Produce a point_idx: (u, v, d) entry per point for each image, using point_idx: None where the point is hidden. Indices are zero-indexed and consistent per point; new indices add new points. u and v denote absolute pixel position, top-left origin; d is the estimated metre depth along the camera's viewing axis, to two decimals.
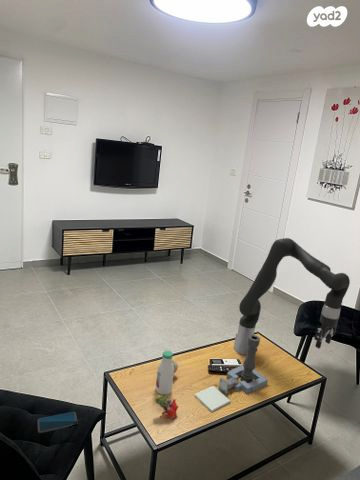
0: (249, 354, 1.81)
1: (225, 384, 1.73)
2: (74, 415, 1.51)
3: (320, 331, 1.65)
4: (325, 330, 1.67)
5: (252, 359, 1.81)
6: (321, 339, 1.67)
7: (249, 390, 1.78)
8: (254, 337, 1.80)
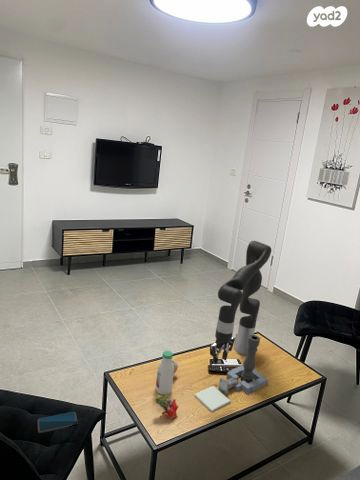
0: (249, 354, 1.81)
1: (225, 384, 1.73)
2: (74, 415, 1.51)
3: (212, 348, 1.60)
4: (219, 346, 1.62)
5: (252, 359, 1.81)
6: (216, 355, 1.63)
7: (249, 390, 1.78)
8: (254, 337, 1.80)
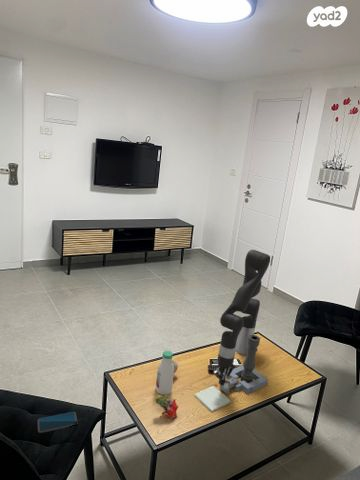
0: (249, 354, 1.81)
1: (226, 383, 1.74)
2: (74, 415, 1.51)
3: (215, 374, 1.68)
4: (221, 371, 1.69)
5: (252, 359, 1.81)
6: (222, 378, 1.71)
7: (249, 390, 1.78)
8: (254, 337, 1.80)
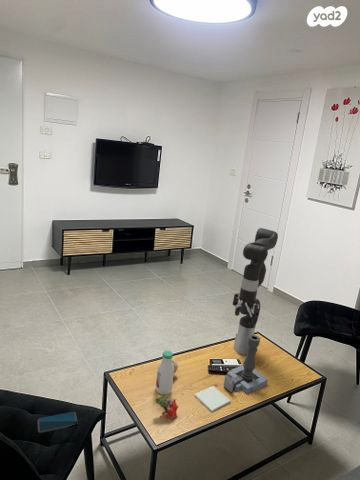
0: (249, 354, 1.81)
1: (230, 382, 1.76)
2: (74, 415, 1.51)
3: None
4: (240, 298, 1.69)
5: (252, 359, 1.81)
6: (236, 305, 1.71)
7: (249, 390, 1.78)
8: (254, 337, 1.80)
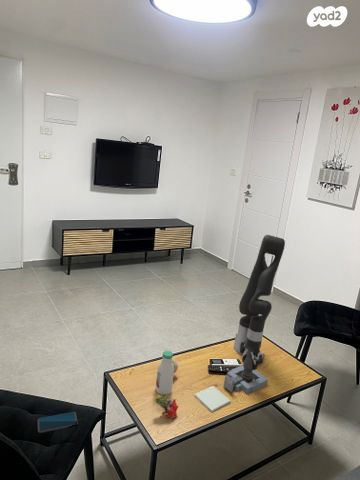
0: (249, 354, 1.81)
1: (230, 382, 1.76)
2: (74, 415, 1.51)
3: None
4: (246, 347, 1.83)
5: (252, 359, 1.81)
6: (243, 353, 1.85)
7: (249, 390, 1.78)
8: None
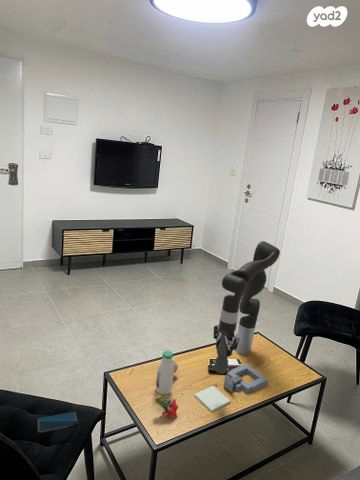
0: (223, 339, 1.61)
1: (230, 382, 1.76)
2: (74, 415, 1.51)
3: None
4: (219, 331, 1.63)
5: (226, 344, 1.61)
6: (216, 338, 1.65)
7: (249, 390, 1.78)
8: None
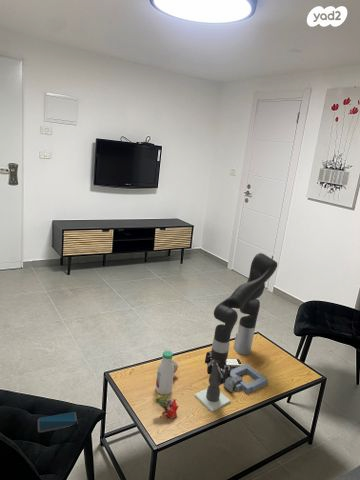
0: (214, 369, 1.65)
1: (230, 382, 1.76)
2: (74, 415, 1.51)
3: None
4: (212, 358, 1.67)
5: (218, 374, 1.65)
6: (208, 363, 1.69)
7: (249, 390, 1.78)
8: None
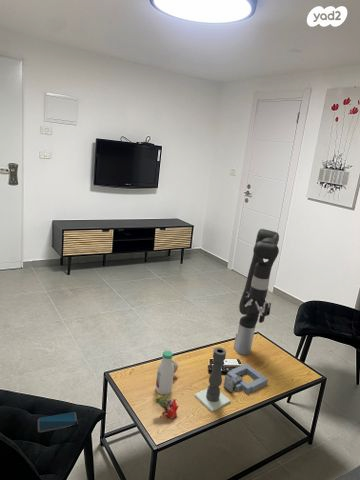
0: (214, 369, 1.65)
1: (230, 382, 1.76)
2: (74, 415, 1.51)
3: None
4: (250, 297, 1.66)
5: (218, 374, 1.65)
6: (245, 304, 1.69)
7: (249, 390, 1.78)
8: (220, 350, 1.64)
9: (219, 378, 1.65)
